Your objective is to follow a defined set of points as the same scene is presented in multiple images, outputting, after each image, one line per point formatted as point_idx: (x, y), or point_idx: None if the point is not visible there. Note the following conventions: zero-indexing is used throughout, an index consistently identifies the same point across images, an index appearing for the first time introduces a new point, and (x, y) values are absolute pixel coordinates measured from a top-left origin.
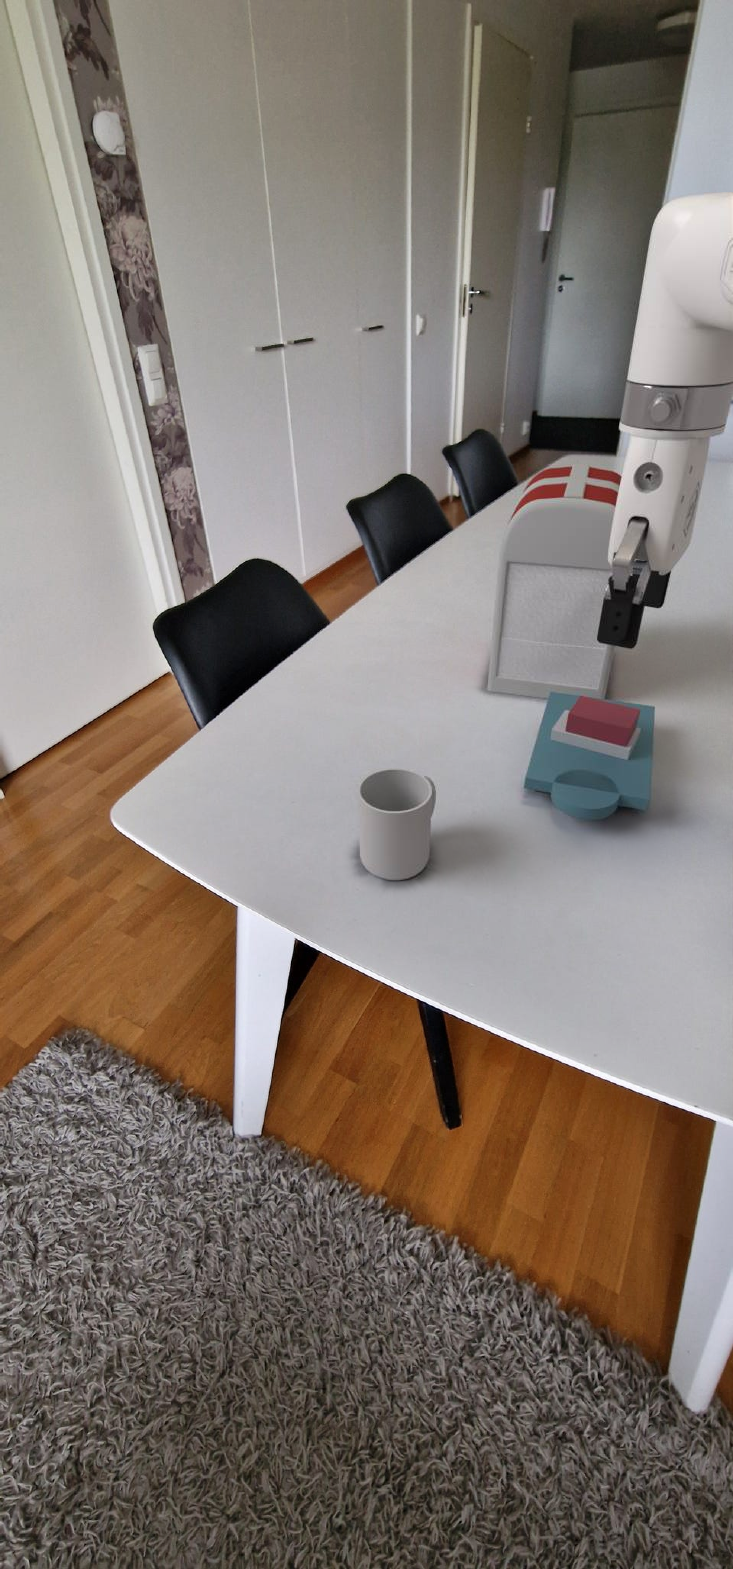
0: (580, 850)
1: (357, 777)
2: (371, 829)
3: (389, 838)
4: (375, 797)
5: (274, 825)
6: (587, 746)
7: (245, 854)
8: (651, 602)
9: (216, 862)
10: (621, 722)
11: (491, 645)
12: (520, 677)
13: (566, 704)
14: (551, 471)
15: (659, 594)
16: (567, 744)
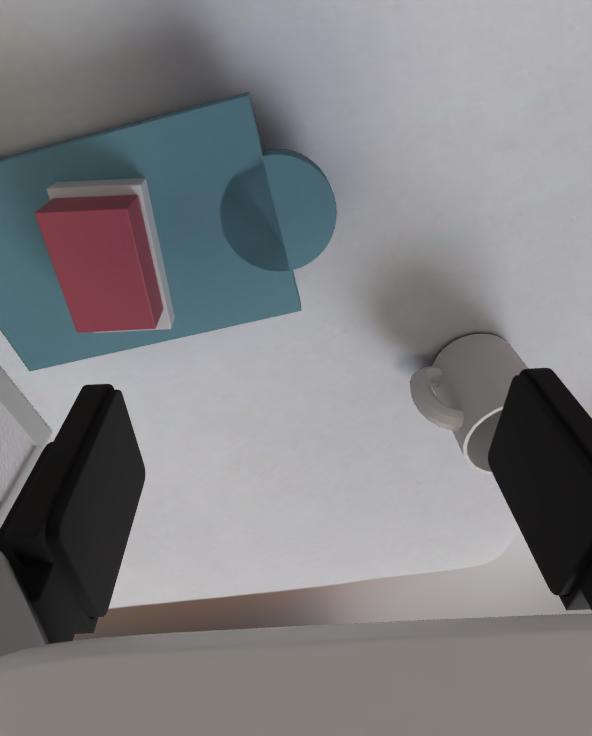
0: (357, 168)
1: (346, 460)
2: None
3: None
4: (470, 441)
5: (461, 477)
6: (160, 259)
7: None
8: (123, 425)
9: None
10: (116, 232)
11: (16, 497)
12: (9, 420)
13: (47, 335)
14: None
15: (104, 434)
16: (169, 289)
